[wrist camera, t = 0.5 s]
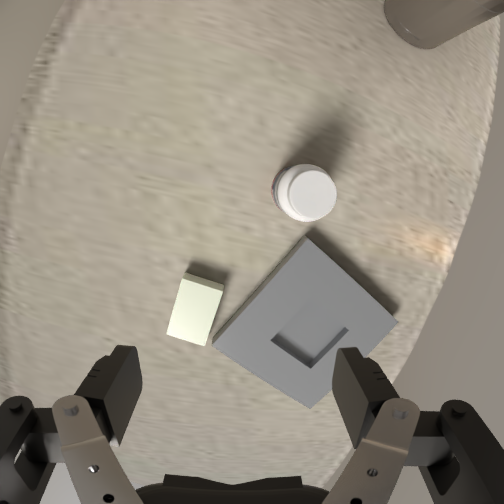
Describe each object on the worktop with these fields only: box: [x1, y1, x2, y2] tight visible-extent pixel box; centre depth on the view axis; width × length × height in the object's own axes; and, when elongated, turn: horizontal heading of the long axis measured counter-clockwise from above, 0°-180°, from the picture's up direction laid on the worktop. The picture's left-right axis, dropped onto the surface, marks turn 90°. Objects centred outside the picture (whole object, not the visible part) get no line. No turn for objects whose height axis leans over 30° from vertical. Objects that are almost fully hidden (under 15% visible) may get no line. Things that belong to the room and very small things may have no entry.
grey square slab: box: [212, 235, 398, 409], centre depth 37 cm, size 16×16×2 cm
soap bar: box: [167, 272, 224, 346], centre depth 36 cm, size 7×4×2 cm, turn 161°
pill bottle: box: [271, 164, 337, 222], centre depth 30 cm, size 5×5×9 cm
